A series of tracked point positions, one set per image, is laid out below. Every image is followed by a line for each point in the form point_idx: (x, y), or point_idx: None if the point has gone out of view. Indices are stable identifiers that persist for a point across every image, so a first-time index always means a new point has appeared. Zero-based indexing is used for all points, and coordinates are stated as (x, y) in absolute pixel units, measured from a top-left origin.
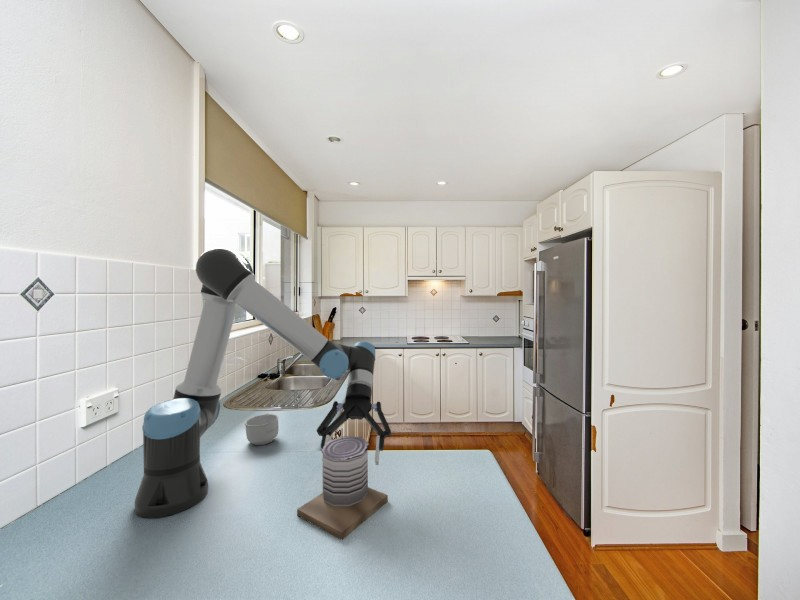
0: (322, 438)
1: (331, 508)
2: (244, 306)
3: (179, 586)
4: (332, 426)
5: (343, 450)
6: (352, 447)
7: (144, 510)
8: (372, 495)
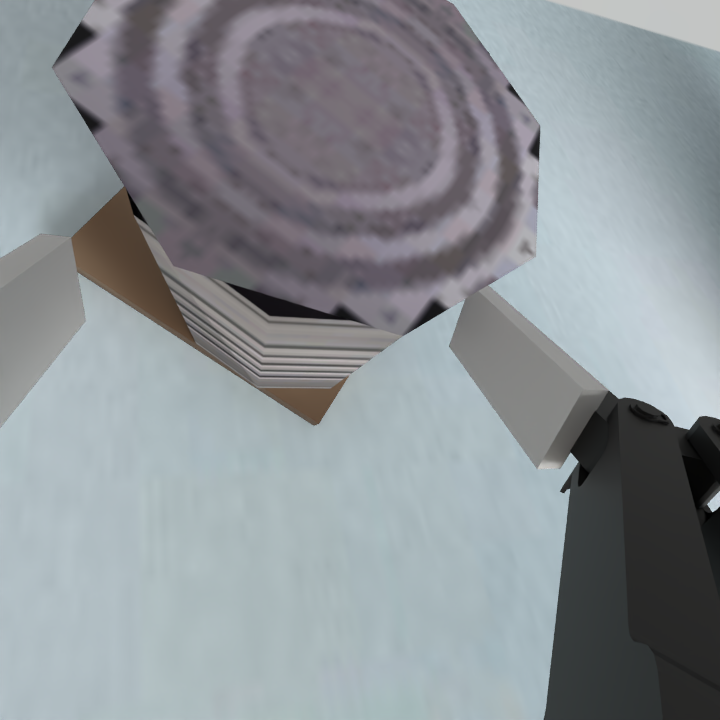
0: (609, 395)
1: None
2: None
3: (587, 25)
4: (639, 471)
5: (348, 54)
6: (267, 71)
7: None
8: (148, 257)
